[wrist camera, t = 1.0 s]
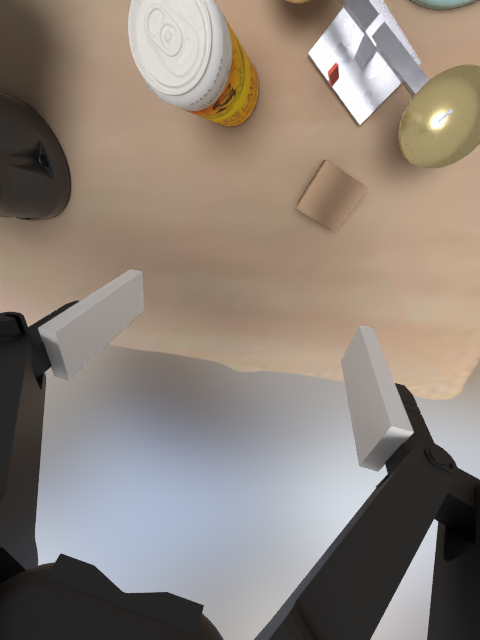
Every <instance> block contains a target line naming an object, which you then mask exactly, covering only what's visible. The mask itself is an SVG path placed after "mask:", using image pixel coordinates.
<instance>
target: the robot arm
mask: <svg viewBox="0 0 480 640" xmlns="http://www.w3.org/2000/svg"><path fill="white" fill-rule="evenodd" d="M69 194H70V175H69V170H68V166H67V162H66V159H65V156H64V153H63V151H62V149H61V147H60V144H59V143H58V141H57V139H56V137H55V135H54V134H53V132H52V131H51V129H50V128H49V126H48V125H47V124H46V123H45V121H44V120H43V119H42V118H41V117H40V116H39V115H38V114H37V113H36V112H35V111H34V110H33V109H32V108H31V107H30V106H28V105H27V104H26V103H24V102H23V101H21V100H19V99H18V98H16V97H13V96H11V95H8V94H4V93H0V216H1V217H16V218H19V219H23V220H30V221H34V220H42V219H47V218H51V217H54V216H56V215H58V214H59V213H60V212H61V211H62V210H63V209H64V208H65V206H66V204H67V202H68V199H69ZM143 311H144V293H143V275H142V272H141V271H137V270H133V269H130V270H128V271H127V272H125V273H123V274H122V275H120V276H119V277H117V278H116V279H114V280H112V281H111V282H109V283H108V284H106V285H105V286H103V287H101V288H100V289H98V290H97V291H95V292H94V293H92V294H90V295H89V296H87V297H86V298H84V299H83V300H81V301H74V302H71V303H68V304H65V305H64V306H62V307H61V308H59V309H58V310H56V311H54V312H52V313H51V315H47V316H46V317H44V318H43V319H41V320H39V321H38V322H36V323H34V324H33V325H31V326H29V327H28V326H27V323H26V320H25V318H24V315H22V314H21V313H17V312H4V313H0V640H223V638H222V636H221V635H220V633H219V632H218V630H217V629H216V627H215V626H214V625H213V624H212V623H211V621H210V620H209V619H208V618H207V617H205V616H204V615H203V614H202V611H203V605H201V604H198V603H196V602H193V601H190V600H187V599H185V598H182V597H179V596H176V595H173V594H171V593H168V592H155V593H124V592H122V591H121V590H120V589H119V588H118V587H117V586H116V585H114V583H112V582H111V581H110V580H109V579H108V578H107V577H106V576H105V575H104V574H103V573H102V572H100V570H98V569H97V568H96V567H95V566H94V565H91V564H88V563H86V562H83V561H80V560H77V559H75V558H72V557H69V556H66V555H64V554H60V555H59V557H58V559H57V561H56V562H55V563H48V564H43V565H39V566H38V553H37V547H36V542H35V522H36V509H37V495H38V482H39V469H40V456H41V442H42V428H43V415H44V402H45V388H46V375H45V371H47V370H48V369H49V368H50V367H52V370H53V373H54V376H56V377H60V378H63V379H66V380H71V379H72V378H73V377H74V376H75V375H76V374H77V373H78V372H79V371H80V370H81V369H82V368H83V367H84V366H85V365H87V364H88V363H89V362H90V361H91V360H92V359H93V358H94V357H95V356H96V355H97V354H98V353H99V352H100V351H101V350H102V349H103V348H104V347H106V346H107V345H108V344H109V343H110V342H111V341H112V340H113V339H114V338H115V337H116V336H117V335H118V334H119V333H120V332H121V331H123V330H124V329H125V328H126V327H127V326H128V325H129V324H130V323H131V322H132V321H133V320H134V319H135V318H136V317H137V316H138V315H140V314H141V313H142V312H143ZM341 363H342V368H343V374H344V380H345V386H346V391H347V397H348V403H349V409H350V414H351V421H352V426H353V432H354V438H355V444H356V450H357V455H358V461H359V466H361V467H365V468H368V469H371V470H375V471H379V470H380V469H381V468H382V467H383V466H384V465H386V468H387V472H388V475H387V476H386V477H385V478H384V479H383V480H382V481H381V482H380V483H379V484H378V485H377V486H376V489H375V490H374V492H373V493H372V494H371V495H370V497H369V498H368V499H367V500H366V502H365V503H364V504H363V505H362V507H361V508H360V509H359V510H358V512H357V513H356V514H355V515H354V517H353V518H352V519H351V520H350V522H349V523H348V524H347V525H346V527H345V528H344V529H343V530H342V532H341V533H340V534H339V535H338V537H337V538H336V539H335V541H334V542H333V543H332V544H331V545H330V547H329V548H328V549H327V551H326V552H325V553H324V554H323V556H322V557H321V558H320V559H319V561H318V562H317V563H316V564H315V566H314V567H313V568H312V569H311V571H310V572H309V573H308V575H307V576H306V577H305V578H304V579H303V581H302V582H301V583H300V584H299V586H298V587H297V588H296V589H295V591H294V592H293V593H292V594H291V596H290V597H289V598H288V599H287V601H286V602H285V603H284V604H283V606H282V607H281V608H280V610H279V611H278V612H277V613H276V614H275V616H274V617H273V618H272V619H271V621H270V622H269V623H268V624H267V625H266V626H265V628H264V629H263V630H262V631H261V632H260V633H259V634H258V636H257V637H256V638H255V639H254V640H370V639H371V637H372V635H373V633H374V631H375V629H376V627H377V626H378V624H379V622H380V620H381V618H382V616H383V614H384V612H385V610H386V609H387V607H388V605H389V603H390V601H391V599H392V597H393V595H394V593H395V592H396V590H397V588H398V586H399V584H400V582H401V580H402V578H403V576H404V575H405V573H406V571H407V569H408V567H409V565H410V563H411V561H412V559H413V557H414V556H415V554H416V552H417V550H418V548H419V546H420V544H421V542H422V541H423V539H424V537H425V535H426V533H427V531H428V529H429V527H430V525H431V524H432V521H433V520H434V519H436V520H437V521H438V531H437V541H436V552H435V564H434V574H433V584H432V594H431V606H430V616H429V626H428V637H427V640H480V480H479V479H477V478H476V477H474V476H472V475H470V474H468V473H466V472H464V471H463V470H461V469H459V468H457V466H456V463H455V461H454V460H453V459H452V457H451V456H450V455H449V454H448V453H447V452H446V451H445V450H444V449H443V448H441V447H440V446H438V445H436V444H435V443H434V441H433V439H432V437H431V435H430V432H429V430H428V428H427V426H426V424H425V421H424V419H423V417H422V415H420V410H419V408H418V407H417V404H416V401H415V399H414V397H413V395H412V394H411V393H410V391H409V390H408V389H407V388H406V387H405V386H404V385H400V384H396V383H394V380H393V378H392V375H391V373H390V370H389V368H388V365H387V362H386V360H385V357H384V355H383V352H382V350H381V347H380V345H379V342H378V339H377V337H376V334H375V332H374V329H373V328H370V327H366V326H362V325H359V327H358V329H357V331H356V333H355V335H354V337H353V339H352V340H351V342H350V344H349V346H348V348H347V350H346V352H345V354H344V356H343V358H342V360H341Z"/></svg>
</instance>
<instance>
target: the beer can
mask: <svg viewBox="0 0 480 640" xmlns="http://www.w3.org/2000/svg"><path fill="white" fill-rule="evenodd" d="M128 34H129V42H130V47H131V51H132V55H133V58H134V61H135V63H136V65H137V67H138V69H139V71H140V73H141V74H142V76H143V78H144V80H145V82H146V83H147V85H148V86H149V88H150V89H151V90H152V91H153V92H154V94H155V95H156V96H158V97H159V98H160V99H162V100H163V101H165V102H167V103H169V104H171V105H174V106H176V107H179V108H181V109H183V110H186V111H188V112H191V113H193V114H196V115H198V116H201V117H203V118H206V119H208V120H211V121H213V122H216V123H218V124H221V125H223V126H228V127H232V126H236V125H239V124H241V123H243V122H244V121H245V120H246V119H247V118H248V117H249V116H250V115H251V113H252V111H253V110H254V107H255V105H256V102H257V98H258V90H259V85H258V77H257V73H256V70H255V68H254V66H253V64H252V62H251V61H250V59H249V57H248V56H247V54H246V52H245V50H244V49H243V47H242V45H241V44H240V42H239V40H238V39H237V37H236V35H235V34H234V32H233V30H232V29H231V27H230V25H229V24H228V22H227V20H226V19H225V17H224V15H223V14H222V12H221V10H220V9H219V7H218V5H217V3H216V2H215V0H132V1H131V5H130V10H129V17H128Z"/></svg>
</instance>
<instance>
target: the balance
mask: <svg viewBox="0 0 480 640" xmlns="http://www.w3.org/2000/svg"><path fill="white" fill-rule="evenodd" d="M286 1H288V2H291V3H305V2H308V1H310V0H286ZM338 1H339V2H340V4H341V5H342V6H343V9H342V10H341V11H340V12H339V14H338V15H337V16H336V18H335V19H334V20H333V22H332V23H331V24H330V26H329V27H328V28H327V30H326V31H325V32H324V34H323V35H322V36H321V38H320V39H319V40H318V41H317V43H316V44H315V45H314V47H313V48H312V49H311V51H310V52H309V53H308V54H309V58H310V60H311V61H312V62H313V64H314V65H315V66H316V68H317V69H318V71H319V72H320V73H321V75H322V76H323V78H324V79H325V80H326V82H327V83H328V84H329V86H330V87H331V89H332V90H333V91H334V93H335V94H336V96H337V97H338V98H339V100H340V101H341V102H342V104H343V105H344V107H345V108H346V109H347V111H348V112H349V114H350V115H351V116H352V118H353V119H354V120H355V122H356V123H357V125H358V126H359V125H360V124H361V123H362V122H363V121H364V120H365V119H366V118H367V117H368V116H369V115H370V114H371V113H372V112H373V111H374V110H375V109H376V108H377V107H378V106H379V105H380V104H381V103H382V102H383V101H384V100H385V99H386V98H387V97H388V96H389V95H390V94H391V93H392V92H393V91H394V90H395V89H396V88H397V87H398V86H399V85H400V84H401V83H402V84H403V86H404V87H405V88H406V89H407V91H408V92H409V93H410V95H411V96H412V97H413V98H412V99H411V101H410V102H409V104H408V105H407V107H406V109H405V111H404V113H403V116H402V118H401V122H400V126H399V134H398V139H399V146H400V149H401V152H402V153H403V155H404V157H405V158H406V159H407V160H408V161H409V162H410V163H412V164H414V165H416V166H418V167H423V168H440V167H444V166H447V165H450V164H452V163H455V162H457V161H459V160H460V159H462V158H464V157H465V156H466V155H468V154H469V153H470V152H471V151H473V150H474V149H475V148H476V147H477V146H478V145H479V144H480V67H479V66H476V65H461V66H456V67H453V68H450V69H448V70H445V71H443V72H442V73H440V74H438V75H437V76H435V77H434V78H432V79H431V80H429V79H428V77H427V76H426V75H425V74H424V72H423V71H422V70H421V68H420V67H419V65H420V64H421V61H420V60H419V58H418V56H417V55H416V53H415V52H414V50H413V48H412V47H411V45H410V44H409V42H408V40H407V39H406V37H405V35H404V34H403V32H402V31H401V29H400V27H399V26H398V24H397V23H396V21H395V19H394V18H393V16H392V14H391V13H390V11H389V10H388V8H387V6H386V5H385V3H384V2H383V0H338Z"/></svg>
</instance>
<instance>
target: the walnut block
mask: <svg viewBox="0 0 480 640" xmlns="http://www.w3.org/2000/svg"><path fill="white" fill-rule="evenodd" d="M367 190H368V188H367V187H365V186H364V185H362V184H361V183H359V182H358V181H356V180H355V179H353V178H352V177H350V176H349V175H347V174H346V173H344V172H343V171H341V170H340V169H339V168H337V167H336V166H334V165H333V164H331V163H330V162H328V161H327V160H324V161H323V163H322V164H321V166H320V167H319V169H318V171H317V172H316V174H315V175H314V177H313V179H312V180H311V182H310V183H309V185H308V187H307V188H306V190H305V191H304V193H303V195H302V196H301V198H300V200H299V201H298V203H297V207H296V209H298V210H299V211H301V212H302V213H304V214H305V215H307V216H308V217H310V218H312V219H313V220H315V221H316V222H318V223H319V224H321V225H322V226H324V227H325V228H327V229H328V230H330V231H332V232H333V233H335V232H336V231H337V230H338V228H339V227H340V226H341V224H342V223H343V222H344V220H345V219H346V218H347V216H348V215H349V214H350V212H351V211H352V210H353V208H354V207H355V206H356V205H357V203H358V202H359V201H360V199H361V198H362V197H363V195H364V194H365V193H366V191H367Z"/></svg>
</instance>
